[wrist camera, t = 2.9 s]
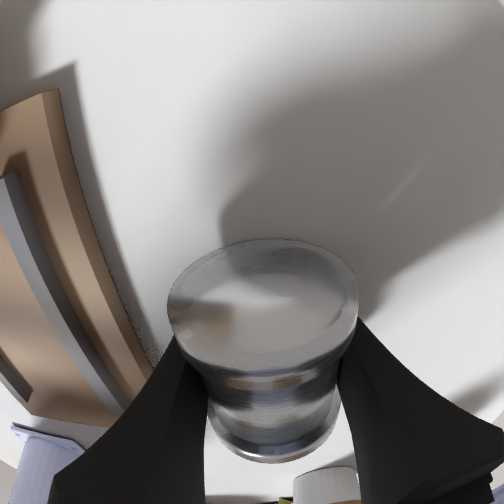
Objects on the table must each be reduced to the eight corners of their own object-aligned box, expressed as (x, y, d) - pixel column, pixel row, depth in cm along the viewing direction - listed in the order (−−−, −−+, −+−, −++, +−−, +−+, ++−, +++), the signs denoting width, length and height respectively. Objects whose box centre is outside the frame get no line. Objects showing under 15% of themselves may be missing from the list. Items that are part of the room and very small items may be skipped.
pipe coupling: (325, 352, 14) (350, 452, 9) (212, 364, 14) (208, 467, 9) (332, 231, 10) (387, 345, 6) (181, 248, 10) (151, 370, 6)
